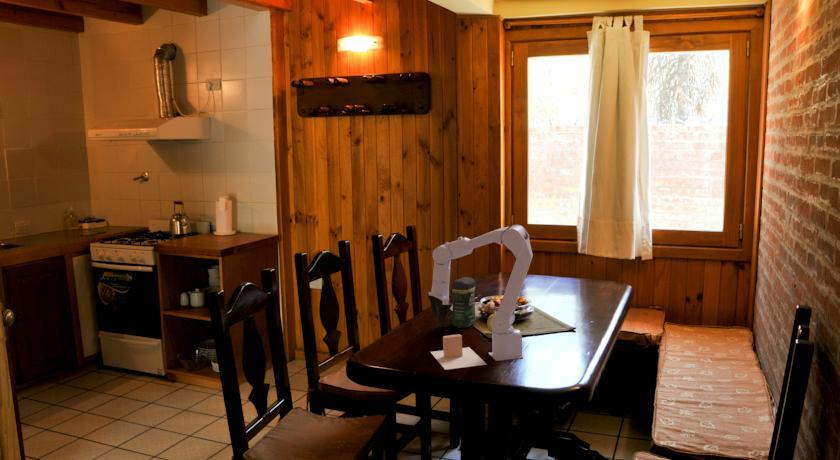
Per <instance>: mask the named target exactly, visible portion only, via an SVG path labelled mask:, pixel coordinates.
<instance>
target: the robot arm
mask: <svg viewBox="0 0 840 460" xmlns="http://www.w3.org/2000/svg"><path fill="white" fill-rule="evenodd" d="M492 243H495V244H498V245H501V246H502V245H504V246H505V247H506V248H507V249H508V250H510V251H511V253H512V255H513V256H514V257H515V262H514V264H513V268H512V270H511V273H510V276H509V279H508V281H507V285H506V287H505V290H504V294H503V296H502V299H501V302H500V304H499V306H498V308H497V310H496V312H495V313H496V315H495V316H493V317H492V319H491V322H490V325H491V328H492V332H491V341H492V342H491V343H492V349H491V350H492V351H491V352H488V355H489V356H490V357H492V358H493V360H495V361H496V362H498V361H506V360H516V359H523V358H524V356H523V336H522V332H521V330H520V329H518V328H516V329H515V328H514V325H513V323H514V322H515V320H516V319H515V318H516V316H515V311H516V306H517V302H518V300H519V298H520V297H519V296H520V294H521V290H522V289H523V286H524V282H525V280H526V277H527V274H528V271H529V269H530V265H531V264H532V260H533V256H534V254H533V250H532V245H531V241H530V234H529V233H528V231H527V229H526V228H525V227H524V226H522V225H520V224H514V225H511V226H507V227H506V226H505V227H502V228H497V229H494V230H491V231H489V232H487V233H484V234H481V235H478V236H477V237H474V238H471V239H470V238H469V237H463V236H459V237H457V239H456V240H453V241H451V242H449V241H446V242H445V243H444V244H441V245H439V246H437V247H436V248H434V250H433V251H432V259H433V270H432V272H433V273H432V282H431V283H432V284H431V291H429V292H428V294H427V298H428V300H429V303H430V311H431V312H430V313H431V315H432V316H437V323H445V322H446V320H447V316H448V313H449V312H450V310H451V308H453V303H451V302H450V297H449V296H450V281H451V280H450V279H451V263H452V260H456V259H459V258H463V257H465V256H467V255H471V254H472V253H473V251H474V249H476V248H479V247H482V246H486V245H489V244H492Z"/></svg>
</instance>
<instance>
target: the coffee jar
mask: <svg viewBox="0 0 840 460" xmlns="http://www.w3.org/2000/svg"><path fill="white" fill-rule="evenodd" d="M475 290H476V282H475V279H474V278H473V277H468V276H463V277H461V278H458V279H456V280H453V281H452V282H451V293H452V315H451V316H452V317H451V318H452V319H451V323H452V326H453V327H456V328H459V329H462V328H470V327H471V326H473V324H474V325H475V324H476V322H477V320H476V305H475Z"/></svg>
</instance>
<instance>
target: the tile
mask: <svg viewBox="0 0 840 460" xmlns="http://www.w3.org/2000/svg"><path fill="white" fill-rule="evenodd" d="M442 347H443V349H442V350H443V353H444V357H445V358H453V357H461V356H463V354H462V348H463V335H461V334H451V335H444V336H442Z"/></svg>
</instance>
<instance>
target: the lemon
mask: <svg viewBox="0 0 840 460" xmlns="http://www.w3.org/2000/svg"><path fill="white" fill-rule="evenodd" d="M496 313H497V312H493V313H492V314H490V315H489V316H488V318H487V321H486V324H487V329H488V330H489V331H490V333H492V328H491V325H490V322H491V319H492V317H493V316H495V315H496Z"/></svg>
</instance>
